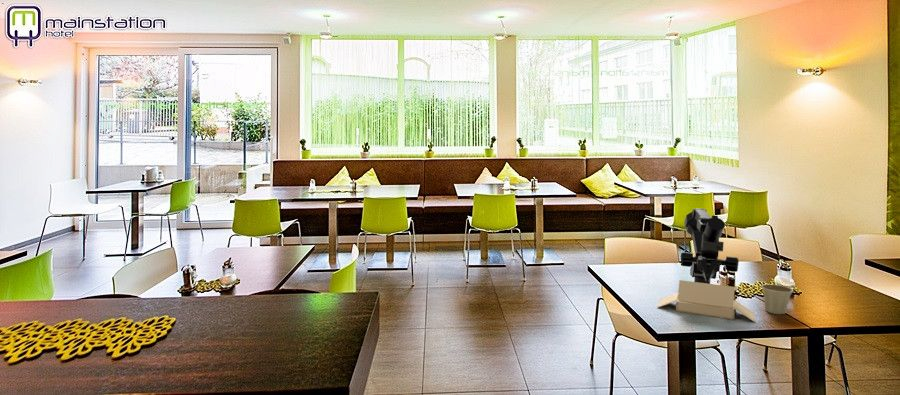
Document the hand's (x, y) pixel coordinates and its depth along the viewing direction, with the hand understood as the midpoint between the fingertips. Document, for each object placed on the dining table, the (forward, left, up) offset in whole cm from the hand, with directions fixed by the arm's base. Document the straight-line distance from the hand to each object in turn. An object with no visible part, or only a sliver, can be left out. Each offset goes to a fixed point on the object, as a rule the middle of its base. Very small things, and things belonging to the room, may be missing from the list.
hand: (707, 281), depth 186 cm
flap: (+9, 0, -6) cm, 11 cm away
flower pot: (-8, +22, -10) cm, 25 cm away
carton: (+1, 0, -10) cm, 10 cm away
